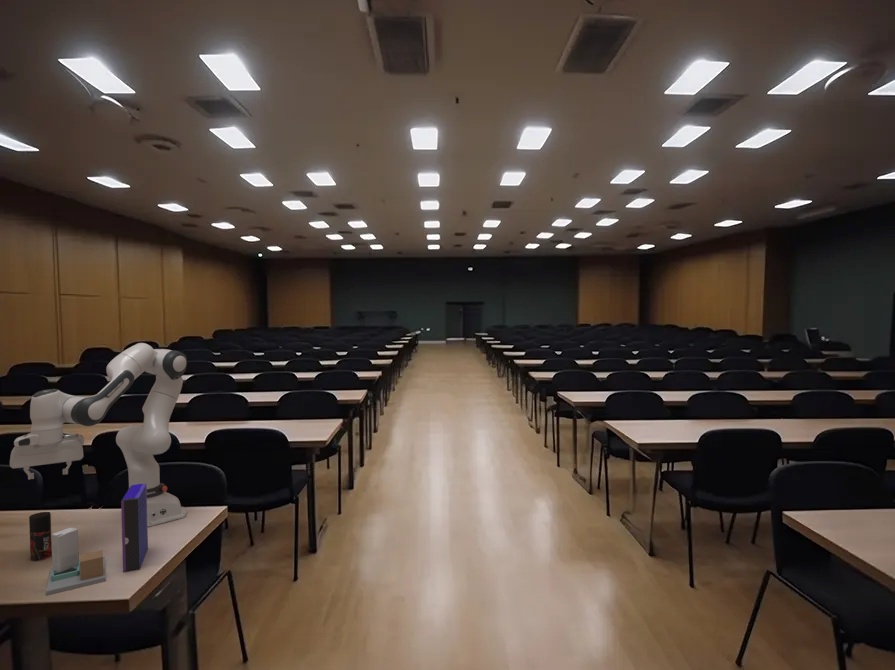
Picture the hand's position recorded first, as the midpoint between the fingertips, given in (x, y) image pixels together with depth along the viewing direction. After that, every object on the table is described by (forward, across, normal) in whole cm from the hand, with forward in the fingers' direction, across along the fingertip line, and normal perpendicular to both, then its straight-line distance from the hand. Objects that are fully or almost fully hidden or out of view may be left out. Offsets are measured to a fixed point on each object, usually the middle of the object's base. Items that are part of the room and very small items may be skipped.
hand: (48, 476), depth 181 cm
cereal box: (+29, -25, +17) cm, 42 cm away
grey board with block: (+29, -8, +20) cm, 36 cm away
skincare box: (+27, -5, +18) cm, 32 cm away
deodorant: (+29, +3, -4) cm, 30 cm away
